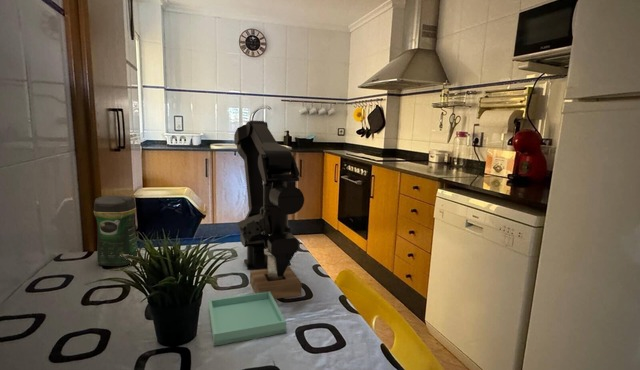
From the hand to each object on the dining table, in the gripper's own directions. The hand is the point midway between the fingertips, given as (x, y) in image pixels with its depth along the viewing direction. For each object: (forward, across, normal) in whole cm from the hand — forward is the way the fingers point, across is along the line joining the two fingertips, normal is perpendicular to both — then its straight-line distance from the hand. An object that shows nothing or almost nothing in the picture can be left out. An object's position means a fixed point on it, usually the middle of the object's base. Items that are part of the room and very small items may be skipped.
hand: (274, 268), depth 83 cm
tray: (+5, +12, -9) cm, 16 cm away
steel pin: (+5, 0, 0) cm, 5 cm away
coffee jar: (+5, -29, -37) cm, 47 cm away
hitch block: (+5, 0, 0) cm, 5 cm away
